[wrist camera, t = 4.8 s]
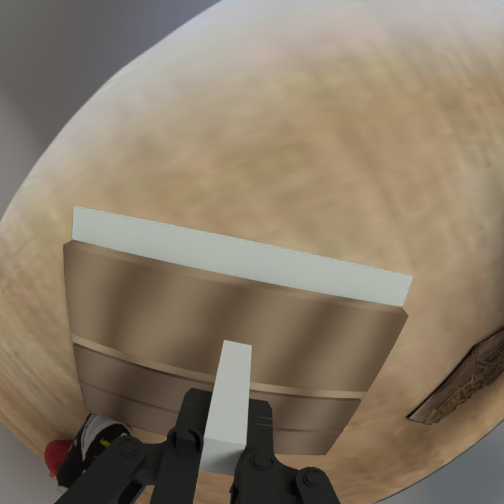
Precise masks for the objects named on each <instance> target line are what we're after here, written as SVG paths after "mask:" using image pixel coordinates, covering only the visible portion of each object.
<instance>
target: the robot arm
mask: <svg viewBox="0 0 504 504" xmlns="http://www.w3.org/2000/svg"><path fill="white" fill-rule="evenodd" d="M251 351H252V345H247V344H242V343H237V342H232V341H227V340H224V342H223V347H222V352H221V356H220V361H219V366H218V371H217V376H216V380H215V385H214V390H213V392H210V391H206V390H201V389H197V388H193V387H192V388H191V389H190V390H188V391H187V392H186V393H185V396H184V399H183V402H182V405H181V408H180V411H179V415H178V418H177V421H176V424H175V427H173V428H172V429H170V430H169V432H168V434H167V441H165V442H163V443H159V444H145V443H142V442H141V441H140V440H139V439H137V438H135V437H132V436H125V435H124V436H120V437H117V438H116V439H114V440H113V441H112V442H111V443H110V445H109V446H108V447H107V448H106V449H105V450H104V451H103V452H102V453H101V454H100V455H99V457H98V458H97V459H96V460H95V461H94V462H93V463H92V464H91V465H90V466H89V467H88V468H87V470H86V471H85V472H84V473H83V474H82V475H81V476H80V477H79V478H78V479H77V480H76V481H75V482H74V483H73V485H72V486H71V487H70V488H69V489H68V490H67V491H66V492H65V493H64V494H63V495H62V496H61V497H60V498H59V499H58V500H57V501H56V503H54V504H134V502H135V501H136V500H137V498H138V497H139V496H140V494H141V493H142V491H143V490H144V489H145V487H146V486H147V485H155V487H154V490H153V494H152V497H151V501H150V504H193V498H194V493H195V488H196V482H197V477H198V472H199V470H203V471H208V472H214V473H220V474H226V475H234V473H235V475H234V482H233V484H232V486H231V488H230V491H229V493H231V499H230V504H340V502H339V500H338V498H337V496H336V494H335V491H334V489H333V487H332V485H331V483H330V481H329V479H328V477H327V475H326V474H325V473H324V472H323V471H322V470H320V469H318V468H315V467H306V468H303V469H301V470H297V469H294V468H291V467H288V466H286V465H283V464H282V463H280V462H279V461H278V460H277V459H276V457H275V455H274V450H273V427H272V426H273V420H272V418H273V417H272V408H271V406H270V404H269V403H268V401H264V400H257V399H251V398H249V387H250V369H251Z"/></svg>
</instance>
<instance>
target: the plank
mask: <svg viewBox="0 0 504 504" xmlns="http://www.w3.org/2000/svg"><path fill="white" fill-rule="evenodd" d="M63 253H64V273H65V286H66V296H67V305H68V313H69V320H70V327H71V333H72V334H71V336H72V342H74V343H77V344H79V345H82V346H85V347H87V348H90V349H93V350H96V351H98V352H101V353H104V354H107V355H110V356H113V357H116V358H119V359H122V360H125V361H128V362H132V363H135V364H138V365H142V366H145V367H149V368H152V369H156V370H159V371H163V372H167V373H171V374H175V375H179V376H183V377H188V378H192V379H197V380H201V381H206V382H211V383H215V380H216V376H217V371H218V366H219V361H220V356H221V352H222V347H223V342H224V340H227V341H232V342H237V343H242V344H247V345H252V351H251V369H250V387H249V389H251V390H258V391H265V392H273V393H281V394H291V395H301V396H313V397H329V398H357V399H363V398H364V397H365V395H366V393H367V391H368V389H369V388H370V386H371V384H372V383H373V381H374V380H375V378H376V376H377V374H378V373H379V371H380V369H381V368H382V366H383V364H384V362H385V361H386V359H387V357H388V355H389V353H390V351H391V350H392V348H393V346H394V344H395V342H396V340H397V338H398V336H399V334H400V332H401V330H402V328H403V326H404V324H405V322H406V320H407V318H408V316H409V315H408V314H407V313H406V312H405V311H404V309H403V308H402V307H400V306H394V305H388V304H382V303H376V302H370V301H364V300H358V299H352V298H346V297H341V296H335V295H330V294H324V293H319V292H313V291H308V290H302V289H297V288H292V287H287V286H281V285H276V284H271V283H266V282H261V281H256V280H251V279H246V278H241V277H236V276H231V275H226V274H222V273H217V272H212V271H207V270H203V269H198V268H193V267H189V266H184V265H179V264H175V263H170V262H166V261H162V260H157V259H153V258H148V257H144V256H140V255H135V254H131V253H127V252H122V251H118V250H114V249H110V248H106V247H102V246H97V245H93V244H89V243H85V242H81V241H77V240H71V241H70V242H68V243H66V244H64V245H63Z"/></svg>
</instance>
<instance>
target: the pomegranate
mask: <svg viewBox="0 0 504 504" xmlns="http://www.w3.org/2000/svg"><path fill="white" fill-rule="evenodd" d="M72 443H73V442H72V441H70V440H55V441H52V442H50V443H49V444H48V445H47V447H46V449H45V461H46V464H47V466H48V468H49V470H50V474H49V475H50V477H51V478H52V479H54V480H55V479H57V477H56V475H57V472H58V470H59V468H60V466H61V464H62V462H63V460H64V458H65V456H66V454H67V453H68V451H69V449H70V447H71V445H72Z"/></svg>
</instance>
